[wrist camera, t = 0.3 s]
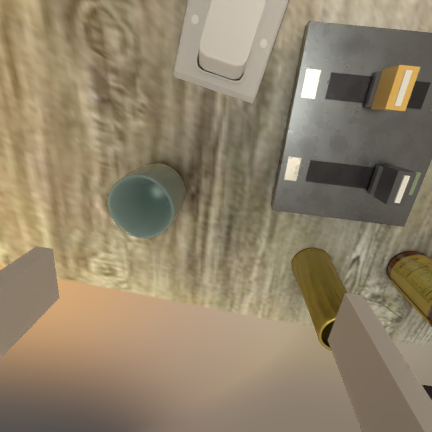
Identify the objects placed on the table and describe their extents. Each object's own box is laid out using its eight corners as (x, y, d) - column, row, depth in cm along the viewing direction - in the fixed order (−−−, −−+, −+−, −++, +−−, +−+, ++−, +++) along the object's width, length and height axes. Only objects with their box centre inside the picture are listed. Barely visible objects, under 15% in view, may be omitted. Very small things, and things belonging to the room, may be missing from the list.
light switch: (166, 76, 31) (194, -67, 26) (175, 77, 35) (201, -47, 29) (253, 105, 32) (299, -30, 26) (253, 104, 35) (293, -14, 30)
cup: (200, 191, 39) (188, 217, 30) (161, 218, 41) (137, 250, 32) (167, 147, 37) (143, 160, 28) (127, 178, 39) (92, 199, 30)
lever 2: (376, 163, 33) (395, 170, 29) (401, 166, 33) (422, 173, 29) (366, 193, 34) (382, 204, 31) (390, 196, 34) (409, 207, 30)
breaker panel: (305, 26, 30) (310, 20, 28) (466, 42, 30) (483, 37, 28) (271, 205, 39) (272, 210, 37) (396, 220, 38) (404, 227, 36)
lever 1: (374, 69, 29) (395, 63, 25) (402, 72, 29) (427, 67, 25) (363, 108, 31) (381, 108, 27) (389, 111, 31) (411, 111, 27)
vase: (332, 246, 40) (376, 312, 27) (330, 279, 43) (370, 356, 29) (291, 248, 41) (315, 314, 28) (291, 281, 43) (313, 356, 30)
